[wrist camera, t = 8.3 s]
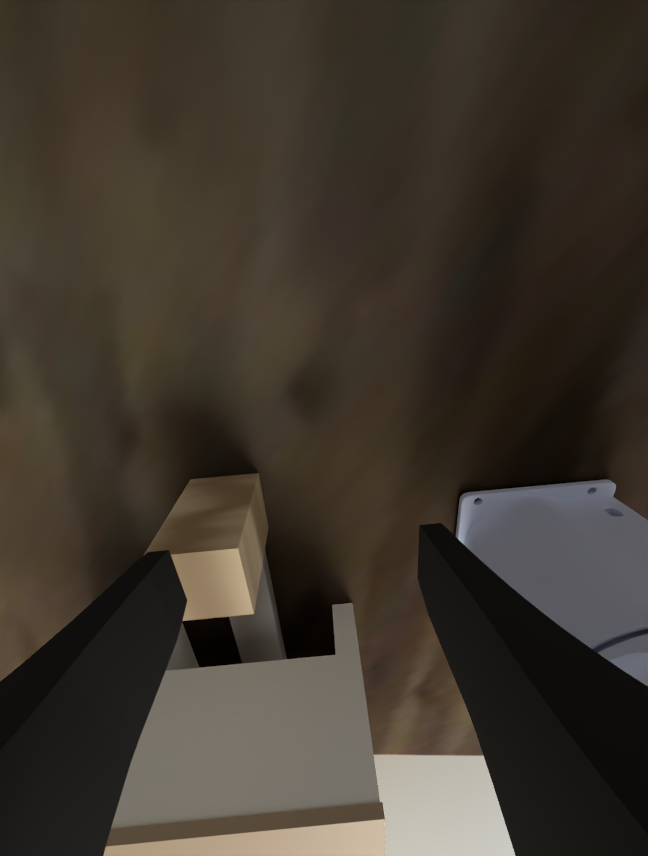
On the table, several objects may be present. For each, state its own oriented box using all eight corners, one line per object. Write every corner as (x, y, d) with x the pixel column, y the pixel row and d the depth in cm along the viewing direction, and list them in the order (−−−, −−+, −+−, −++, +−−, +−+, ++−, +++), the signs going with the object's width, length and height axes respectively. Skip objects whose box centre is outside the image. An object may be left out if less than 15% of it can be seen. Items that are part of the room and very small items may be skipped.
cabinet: (353, 601, 24) (384, 819, 14) (358, 685, 28) (385, 899, 18) (158, 620, 23) (53, 851, 14) (192, 701, 27) (129, 924, 18)
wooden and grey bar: (258, 473, 19) (237, 548, 13) (297, 679, 27) (294, 779, 21) (190, 479, 19) (142, 557, 13) (249, 683, 27) (233, 785, 21)
